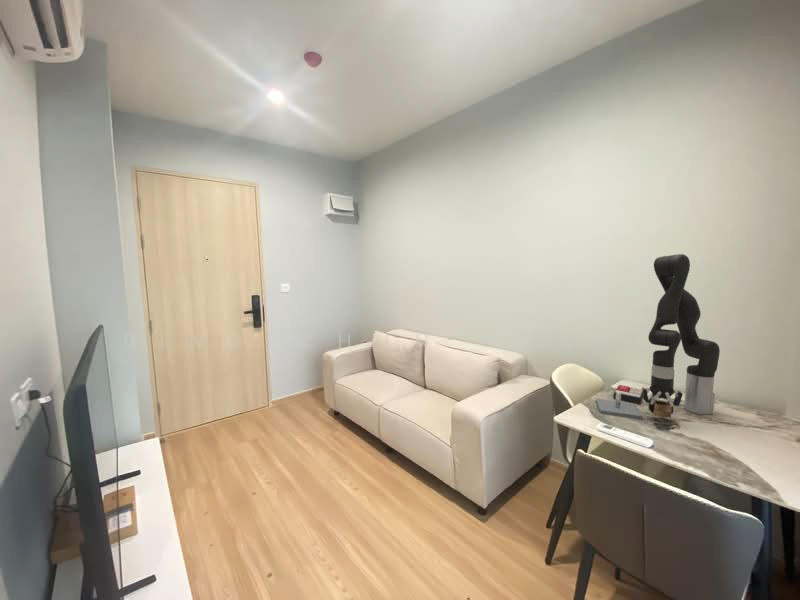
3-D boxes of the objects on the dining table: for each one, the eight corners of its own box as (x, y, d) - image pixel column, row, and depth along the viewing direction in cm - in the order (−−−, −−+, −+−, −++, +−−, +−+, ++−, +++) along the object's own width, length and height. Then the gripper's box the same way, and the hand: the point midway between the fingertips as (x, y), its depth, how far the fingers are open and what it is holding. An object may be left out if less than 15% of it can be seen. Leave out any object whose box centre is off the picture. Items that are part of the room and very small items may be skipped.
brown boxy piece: (666, 412, 141) (666, 401, 140) (671, 417, 136) (671, 406, 135) (650, 410, 143) (651, 399, 143) (654, 415, 138) (655, 404, 137)
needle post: (620, 404, 150) (620, 391, 149) (620, 405, 148) (621, 393, 147) (615, 403, 151) (615, 391, 150) (615, 405, 149) (616, 392, 148)
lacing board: (634, 406, 153) (634, 403, 152) (642, 419, 140) (642, 416, 140) (595, 401, 159) (595, 398, 159) (599, 413, 147) (600, 410, 146)
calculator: (644, 389, 165) (640, 396, 154) (643, 397, 166) (640, 405, 155) (618, 384, 173) (613, 391, 162) (618, 391, 173) (613, 399, 162)
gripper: (680, 374, 138) (677, 411, 140) (639, 370, 144) (638, 407, 146) (687, 380, 131) (685, 419, 133) (644, 376, 137) (642, 414, 139)
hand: (660, 412), depth 139 cm, fingers closed on brown boxy piece, 5 cm apart
